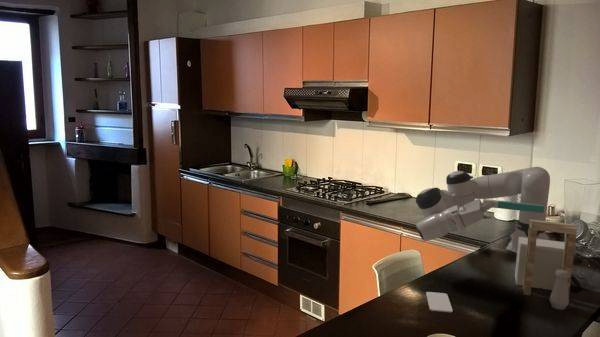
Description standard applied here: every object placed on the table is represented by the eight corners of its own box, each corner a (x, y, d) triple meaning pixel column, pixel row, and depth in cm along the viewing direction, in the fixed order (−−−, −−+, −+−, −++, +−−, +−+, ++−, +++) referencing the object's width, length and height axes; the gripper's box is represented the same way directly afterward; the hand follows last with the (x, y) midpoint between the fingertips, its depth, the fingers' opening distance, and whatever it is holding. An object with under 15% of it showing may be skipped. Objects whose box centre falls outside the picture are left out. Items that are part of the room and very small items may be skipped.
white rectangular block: (514, 275, 193) (518, 236, 191) (559, 282, 188) (564, 242, 185) (516, 284, 184) (520, 243, 181) (564, 291, 178) (569, 249, 176)
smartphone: (447, 293, 172) (453, 311, 158) (446, 295, 173) (453, 313, 158) (425, 291, 174) (429, 309, 159) (425, 293, 174) (429, 311, 159)
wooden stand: (522, 287, 181) (530, 219, 177) (564, 293, 176) (573, 224, 173) (524, 294, 175) (531, 223, 171) (568, 301, 170) (577, 228, 166)
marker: (482, 205, 180) (483, 198, 180) (542, 211, 173) (543, 204, 173) (482, 206, 178) (483, 200, 177) (543, 213, 171) (544, 206, 171)
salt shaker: (551, 302, 169) (555, 266, 167) (569, 307, 165) (574, 270, 163) (546, 307, 164) (551, 270, 162) (565, 312, 161) (570, 274, 159)
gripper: (462, 218, 192) (497, 204, 187) (460, 231, 173) (499, 216, 168) (455, 204, 192) (489, 189, 187) (452, 215, 173) (490, 200, 168)
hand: (494, 202), depth 177 cm, fingers closed on marker, 2 cm apart
